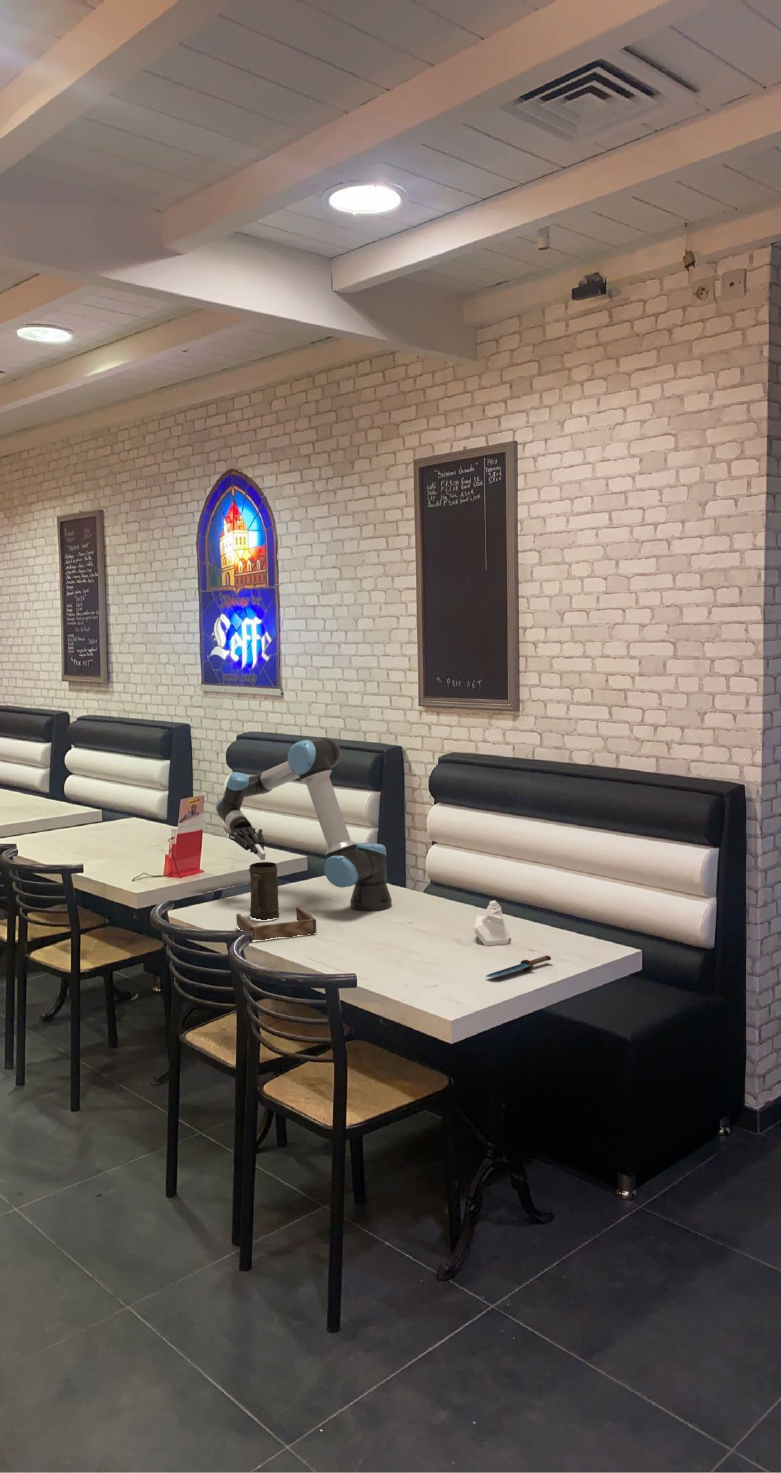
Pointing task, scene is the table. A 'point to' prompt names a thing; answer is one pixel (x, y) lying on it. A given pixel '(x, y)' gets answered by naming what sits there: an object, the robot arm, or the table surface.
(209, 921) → the table surface
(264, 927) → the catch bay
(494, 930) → the white faceted rock
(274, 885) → the beer stein
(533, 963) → the knife
